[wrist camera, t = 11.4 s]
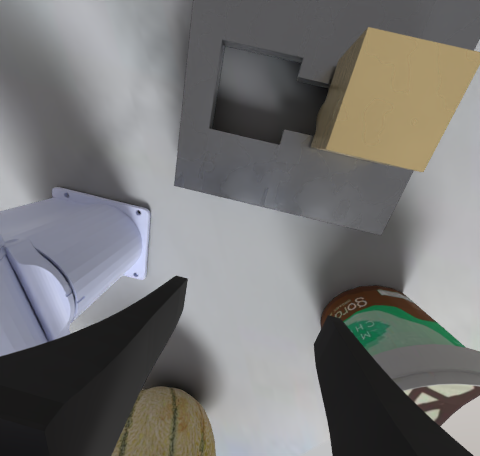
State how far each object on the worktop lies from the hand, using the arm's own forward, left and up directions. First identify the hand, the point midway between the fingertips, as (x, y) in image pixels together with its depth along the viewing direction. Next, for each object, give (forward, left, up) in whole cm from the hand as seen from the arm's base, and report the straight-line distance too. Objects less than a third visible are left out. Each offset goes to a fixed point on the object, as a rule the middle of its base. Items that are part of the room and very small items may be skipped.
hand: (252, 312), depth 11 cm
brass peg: (+4, +11, -10) cm, 15 cm away
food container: (+11, -6, -11) cm, 16 cm away
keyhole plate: (+1, +10, -10) cm, 15 cm away
